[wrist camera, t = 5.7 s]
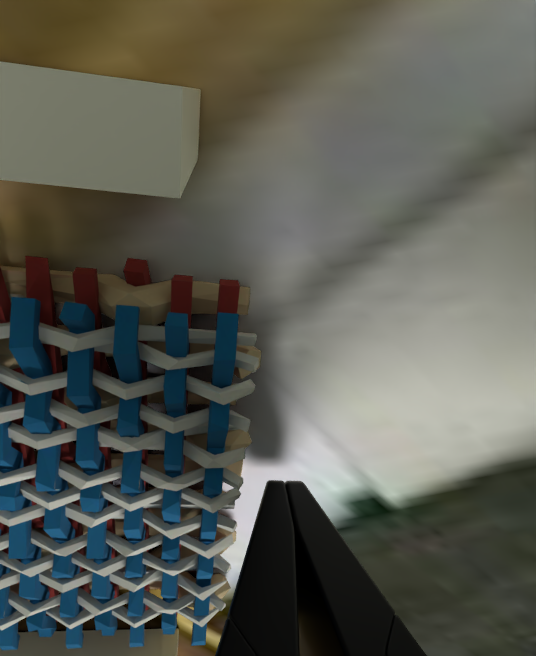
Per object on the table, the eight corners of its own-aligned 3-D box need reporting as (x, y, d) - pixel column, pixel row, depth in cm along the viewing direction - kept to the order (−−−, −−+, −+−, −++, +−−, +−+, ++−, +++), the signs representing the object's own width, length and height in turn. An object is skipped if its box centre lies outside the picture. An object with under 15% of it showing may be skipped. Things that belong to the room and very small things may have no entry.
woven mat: (272, 256, 8) (284, 299, 7) (228, 578, 13) (228, 652, 12) (-352, 197, 7) (-546, 232, 5) (-143, 580, 12) (-207, 665, 10)
